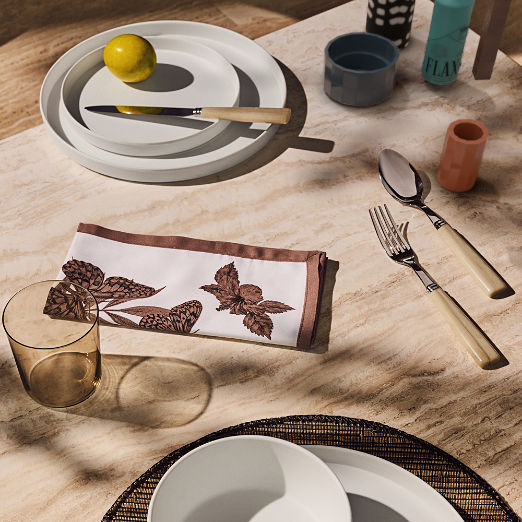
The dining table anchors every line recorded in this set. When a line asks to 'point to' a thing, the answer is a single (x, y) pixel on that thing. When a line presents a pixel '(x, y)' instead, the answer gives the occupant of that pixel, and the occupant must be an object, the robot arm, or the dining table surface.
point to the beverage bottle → (446, 40)
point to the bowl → (360, 68)
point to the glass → (391, 20)
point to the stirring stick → (490, 38)
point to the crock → (462, 154)
